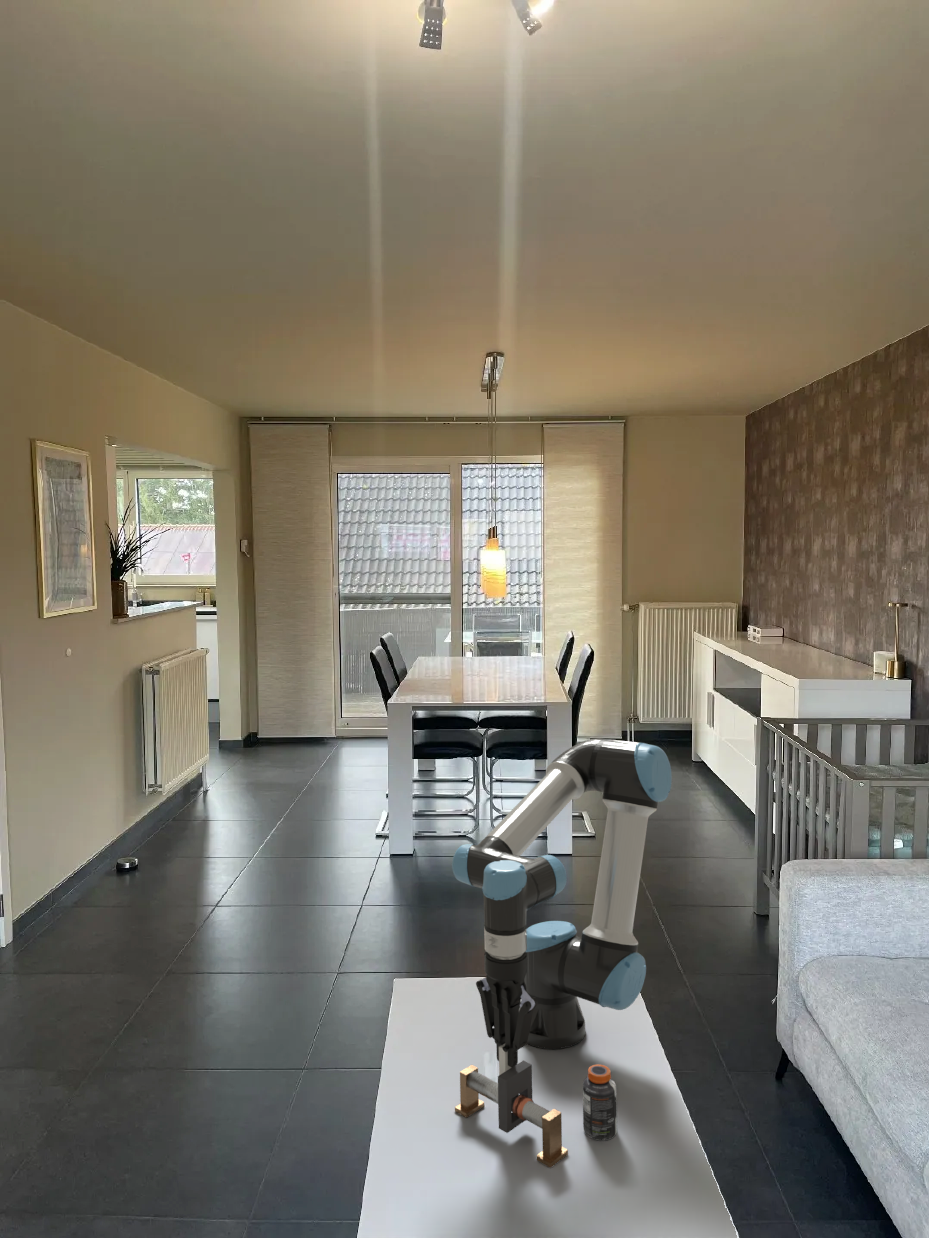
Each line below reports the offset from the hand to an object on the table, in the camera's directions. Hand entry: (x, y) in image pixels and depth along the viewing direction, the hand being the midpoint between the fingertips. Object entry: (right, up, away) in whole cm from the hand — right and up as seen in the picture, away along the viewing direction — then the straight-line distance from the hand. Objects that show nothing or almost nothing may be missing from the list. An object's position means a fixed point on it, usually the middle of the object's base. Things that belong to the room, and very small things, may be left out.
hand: (507, 1080), depth 157 cm
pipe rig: (0, -9, +1) cm, 10 cm away
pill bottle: (+17, -9, 0) cm, 19 cm away
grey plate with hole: (+1, -7, -1) cm, 7 cm away
